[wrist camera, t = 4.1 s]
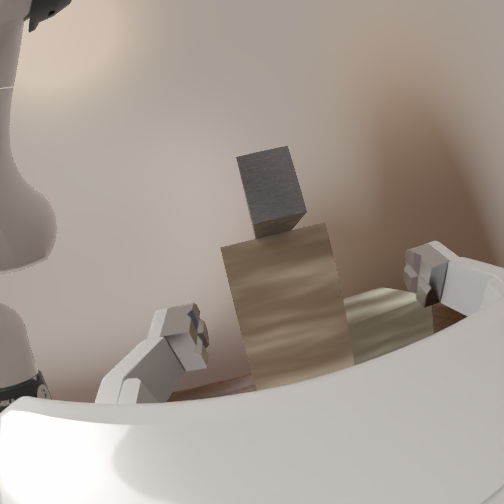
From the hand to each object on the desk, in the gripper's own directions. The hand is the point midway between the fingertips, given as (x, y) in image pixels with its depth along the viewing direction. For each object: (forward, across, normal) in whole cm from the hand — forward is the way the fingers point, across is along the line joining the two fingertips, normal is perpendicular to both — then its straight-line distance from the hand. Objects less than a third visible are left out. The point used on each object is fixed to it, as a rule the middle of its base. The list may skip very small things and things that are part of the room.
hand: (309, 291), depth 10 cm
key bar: (+14, 0, +4) cm, 15 cm away
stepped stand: (+6, -5, +27) cm, 28 cm away
